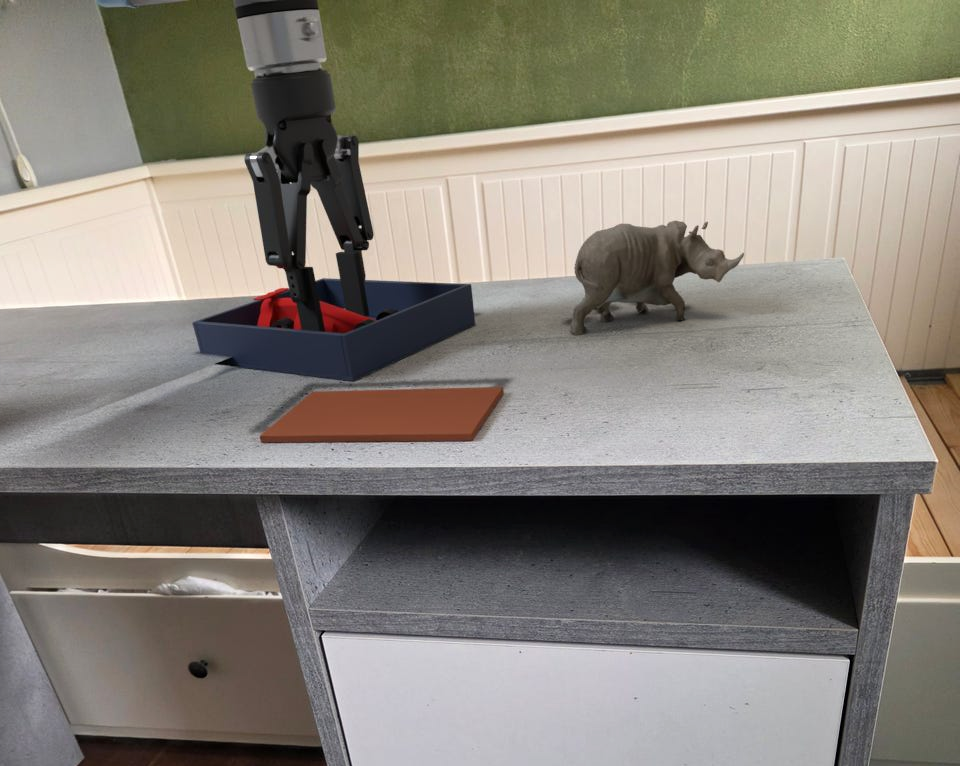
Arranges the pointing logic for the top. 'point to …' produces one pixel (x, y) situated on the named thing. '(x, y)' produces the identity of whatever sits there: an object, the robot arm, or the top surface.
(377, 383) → the top surface
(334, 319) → the toy car
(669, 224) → the rhinoceros figurine
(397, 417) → the mat
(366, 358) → the blue tray
